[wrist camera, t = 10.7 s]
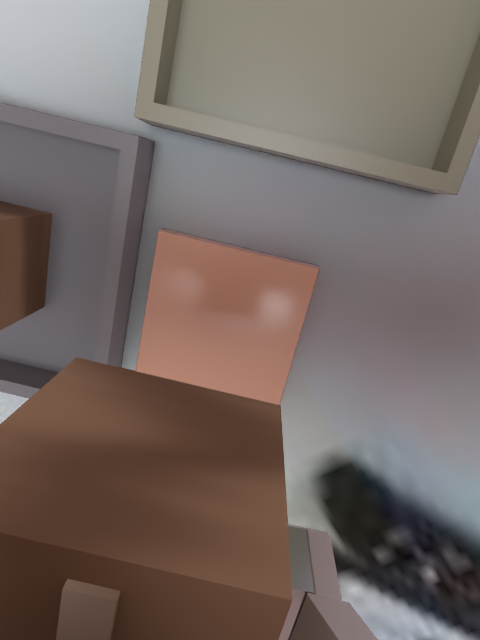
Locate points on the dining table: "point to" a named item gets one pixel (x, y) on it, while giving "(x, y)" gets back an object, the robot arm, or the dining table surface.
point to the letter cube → (142, 512)
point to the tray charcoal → (73, 239)
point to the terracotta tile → (223, 316)
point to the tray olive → (322, 82)
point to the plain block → (22, 261)
